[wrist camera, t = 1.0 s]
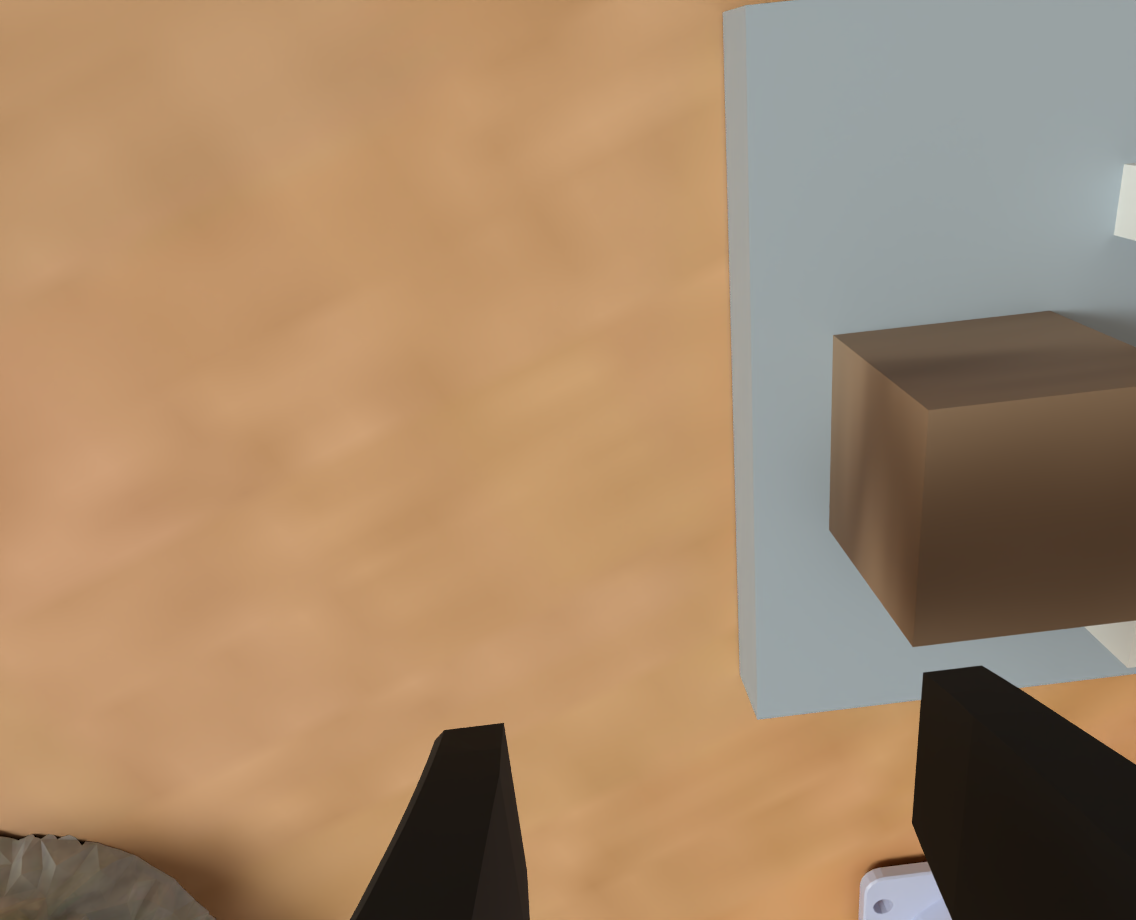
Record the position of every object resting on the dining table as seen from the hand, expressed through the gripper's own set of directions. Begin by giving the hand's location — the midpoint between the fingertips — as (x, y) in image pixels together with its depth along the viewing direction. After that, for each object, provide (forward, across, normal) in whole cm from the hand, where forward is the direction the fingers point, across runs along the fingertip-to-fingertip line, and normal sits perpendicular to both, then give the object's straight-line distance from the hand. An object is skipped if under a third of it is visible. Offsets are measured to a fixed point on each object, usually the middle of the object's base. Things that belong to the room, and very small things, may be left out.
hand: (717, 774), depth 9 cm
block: (+8, -6, 0) cm, 10 cm away
